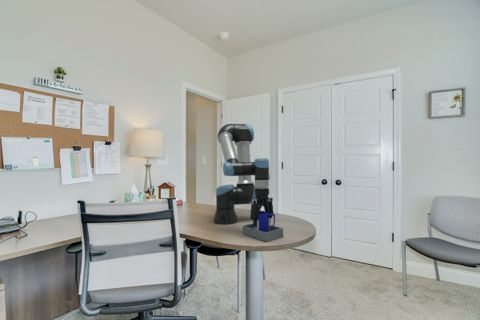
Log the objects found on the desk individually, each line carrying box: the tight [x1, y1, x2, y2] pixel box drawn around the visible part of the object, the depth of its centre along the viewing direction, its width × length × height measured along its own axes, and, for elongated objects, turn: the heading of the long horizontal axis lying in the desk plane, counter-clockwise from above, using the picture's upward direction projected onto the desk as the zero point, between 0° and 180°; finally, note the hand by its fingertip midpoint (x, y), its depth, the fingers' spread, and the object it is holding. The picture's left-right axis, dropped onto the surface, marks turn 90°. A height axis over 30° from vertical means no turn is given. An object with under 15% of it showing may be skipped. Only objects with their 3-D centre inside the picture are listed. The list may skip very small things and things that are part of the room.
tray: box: [242, 223, 284, 243], centre depth 129 cm, size 17×12×4 cm
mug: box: [253, 210, 276, 232], centre depth 129 cm, size 8×12×10 cm
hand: (262, 231), depth 129 cm, fingers closed on mug, 7 cm apart
